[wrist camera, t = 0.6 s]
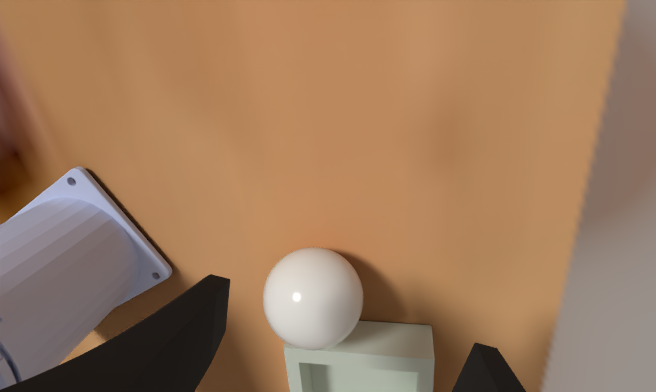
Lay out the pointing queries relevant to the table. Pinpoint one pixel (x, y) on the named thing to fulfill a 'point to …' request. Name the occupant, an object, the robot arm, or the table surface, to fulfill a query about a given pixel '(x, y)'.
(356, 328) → the carton
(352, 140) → the table surface
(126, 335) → the robot arm
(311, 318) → the white egg
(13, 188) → the table surface
